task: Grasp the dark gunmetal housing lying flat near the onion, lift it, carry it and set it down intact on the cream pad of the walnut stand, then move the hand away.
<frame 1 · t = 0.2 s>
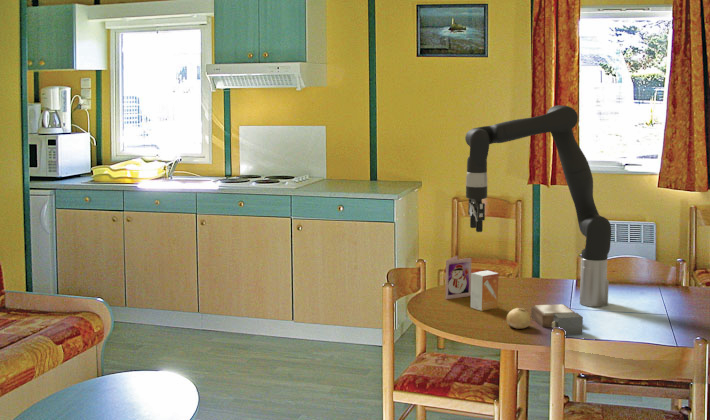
hand: (476, 229, 287), 29 cm above the table, fingers open, 8 cm apart
onion: (518, 327, 268), on the table
housing: (567, 333, 262), on the table
greeting card: (454, 296, 309), on the table
small box: (484, 308, 292), on the table
stand: (553, 321, 275), on the table
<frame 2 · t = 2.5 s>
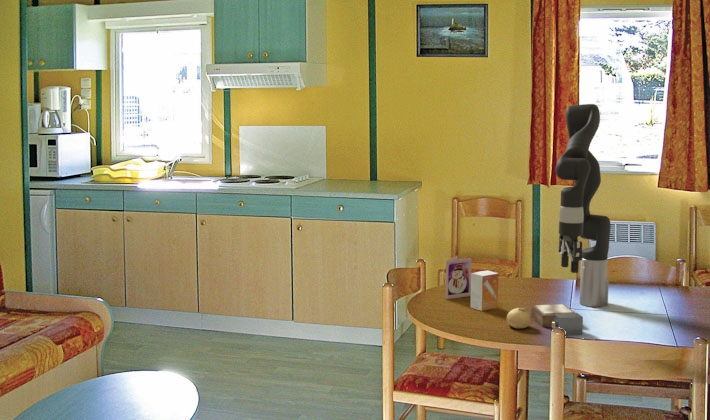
hand: (569, 269, 259), 21 cm above the table, fingers open, 8 cm apart
nothing on the table moved.
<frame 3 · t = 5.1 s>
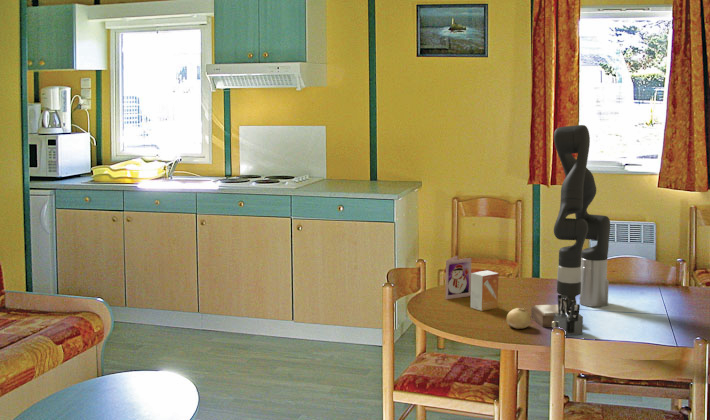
hand: (567, 329, 262), 1 cm above the table, fingers closed on housing, 5 cm apart
housing: (567, 332, 262), on the table, touching gripper
everything else where it was.
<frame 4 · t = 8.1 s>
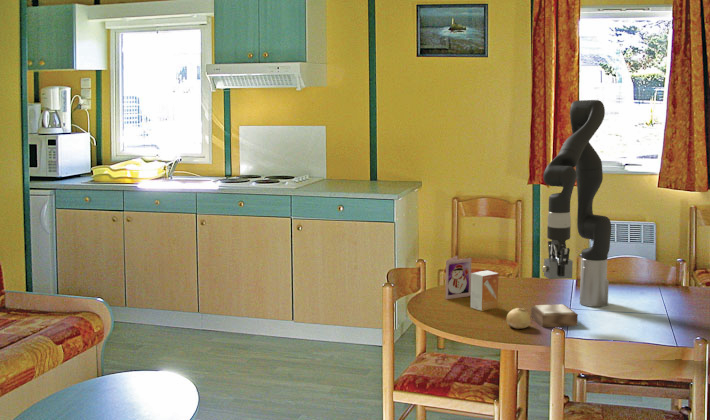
hand: (557, 274, 271), 17 cm above the table, fingers closed on housing, 5 cm apart
housing: (557, 276, 271), point 16 cm above the table, touching gripper
everything else where it was.
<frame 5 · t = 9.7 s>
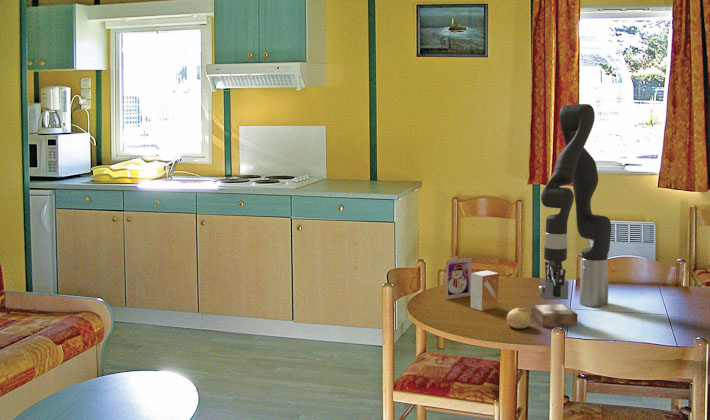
hand: (554, 294, 273), 9 cm above the table, fingers closed on housing, 5 cm apart
housing: (553, 297, 273), point 8 cm above the table, touching gripper
everything else where it was.
when the fingers open (7 cm above the table, at t = 11.1 s): housing drops 1 cm, resting on stand.
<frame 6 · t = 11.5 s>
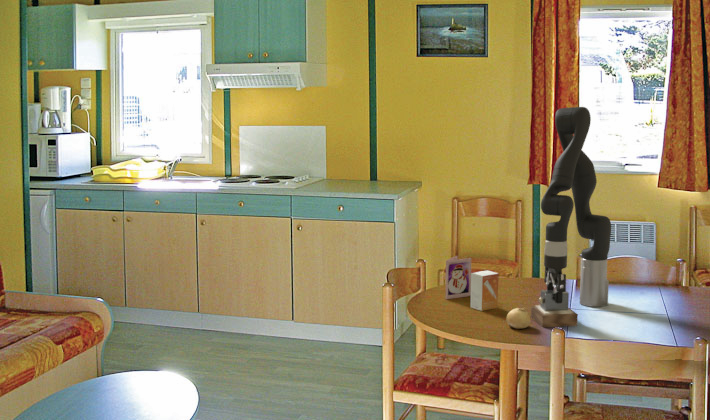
hand: (554, 299, 273), 8 cm above the table, fingers open, 8 cm apart
housing: (554, 308, 274), point 4 cm above the table, touching stand
everything else where it was.
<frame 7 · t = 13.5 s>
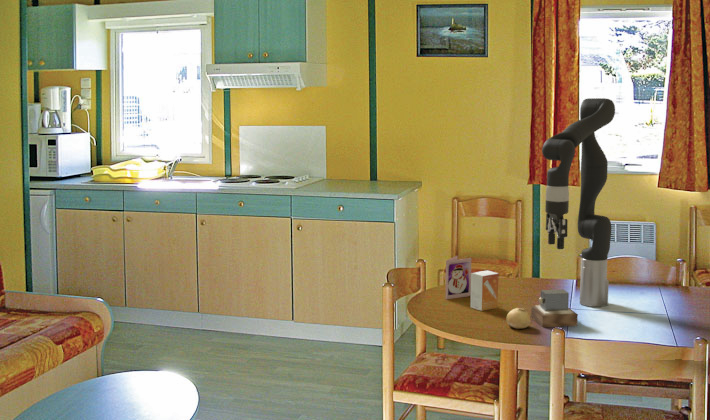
hand: (555, 246, 271), 26 cm above the table, fingers open, 8 cm apart
nothing on the table moved.
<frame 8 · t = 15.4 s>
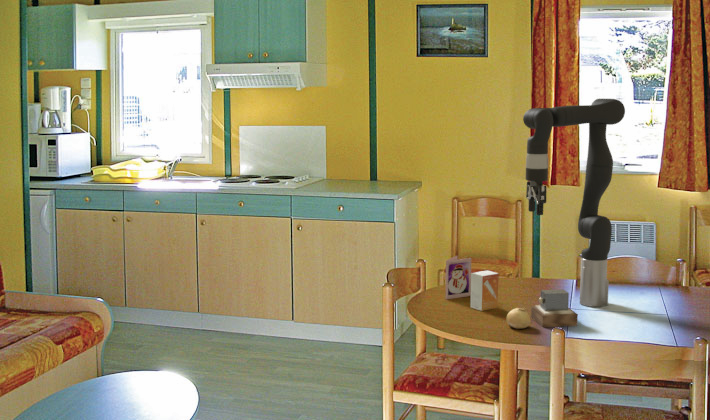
hand: (535, 213, 279), 36 cm above the table, fingers open, 8 cm apart
nothing on the table moved.
at the end: housing inside the target area on the stand (0.0 cm from its centre), point 4.5 cm above the stand's base; housing tilted 0°; the gripper is holding nothing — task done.
